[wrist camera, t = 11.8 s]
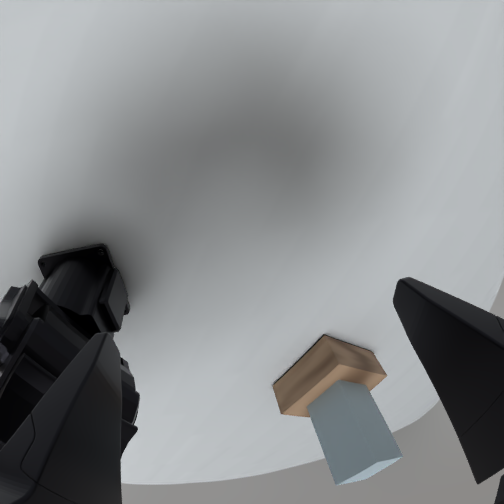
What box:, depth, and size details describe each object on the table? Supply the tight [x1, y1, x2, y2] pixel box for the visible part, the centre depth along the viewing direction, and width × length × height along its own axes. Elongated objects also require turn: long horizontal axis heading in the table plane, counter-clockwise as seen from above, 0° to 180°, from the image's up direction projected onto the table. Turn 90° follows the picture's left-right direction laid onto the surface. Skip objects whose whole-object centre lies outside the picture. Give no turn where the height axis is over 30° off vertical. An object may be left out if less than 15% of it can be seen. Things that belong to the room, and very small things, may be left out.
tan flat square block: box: [273, 335, 387, 417], centre depth 30 cm, size 9×9×4 cm
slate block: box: [307, 380, 403, 485], centre depth 24 cm, size 5×5×10 cm
